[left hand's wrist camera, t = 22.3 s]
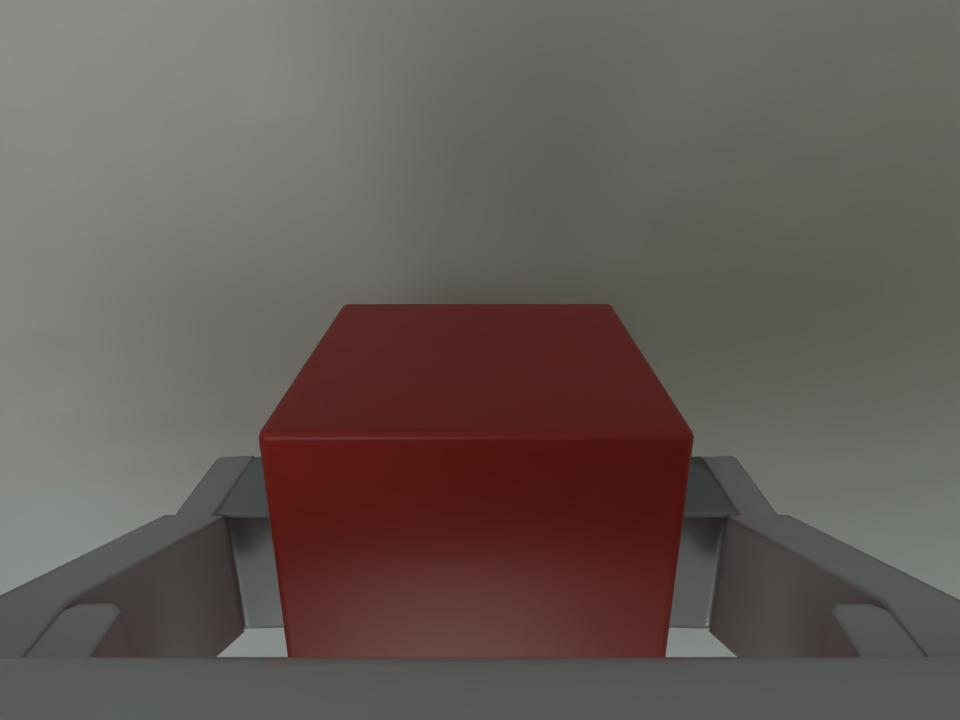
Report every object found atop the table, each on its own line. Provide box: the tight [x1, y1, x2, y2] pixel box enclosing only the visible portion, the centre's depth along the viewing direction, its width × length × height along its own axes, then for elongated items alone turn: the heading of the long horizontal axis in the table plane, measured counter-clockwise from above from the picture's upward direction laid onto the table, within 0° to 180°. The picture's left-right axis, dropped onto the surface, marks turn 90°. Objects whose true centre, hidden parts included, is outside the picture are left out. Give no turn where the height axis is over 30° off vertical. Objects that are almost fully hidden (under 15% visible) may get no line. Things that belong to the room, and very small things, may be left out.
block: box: [259, 304, 694, 657], centre depth 10 cm, size 5×5×5 cm
